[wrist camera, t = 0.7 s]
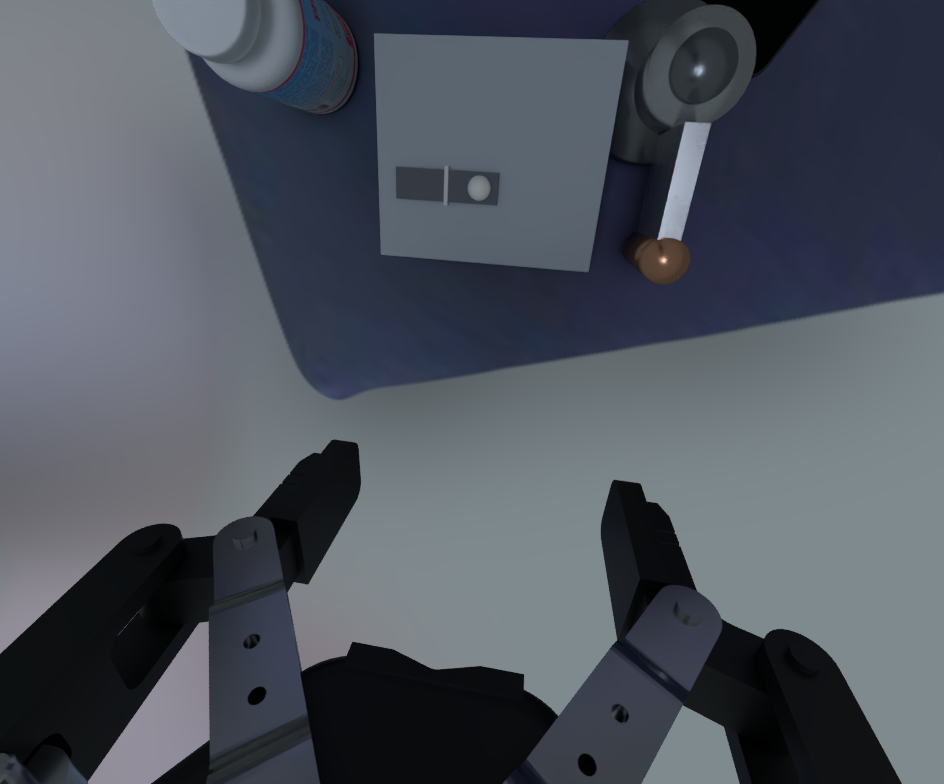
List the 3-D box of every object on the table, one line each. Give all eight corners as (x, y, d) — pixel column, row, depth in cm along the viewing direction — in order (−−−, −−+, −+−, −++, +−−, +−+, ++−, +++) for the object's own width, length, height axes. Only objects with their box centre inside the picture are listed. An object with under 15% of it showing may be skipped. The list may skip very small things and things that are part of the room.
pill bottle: (372, 28, 27) (274, -66, 17) (347, 130, 30) (249, 100, 20) (284, -16, 27) (133, -138, 17) (267, 91, 30) (127, 41, 20)
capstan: (596, 7, 25) (617, -66, 18) (739, 10, 24) (821, -65, 17) (560, 257, 31) (566, 276, 24) (673, 266, 30) (713, 288, 23)
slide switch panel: (396, 55, 28) (364, 24, 23) (616, 62, 26) (633, 31, 21) (399, 247, 33) (373, 257, 28) (582, 262, 31) (590, 276, 26)
